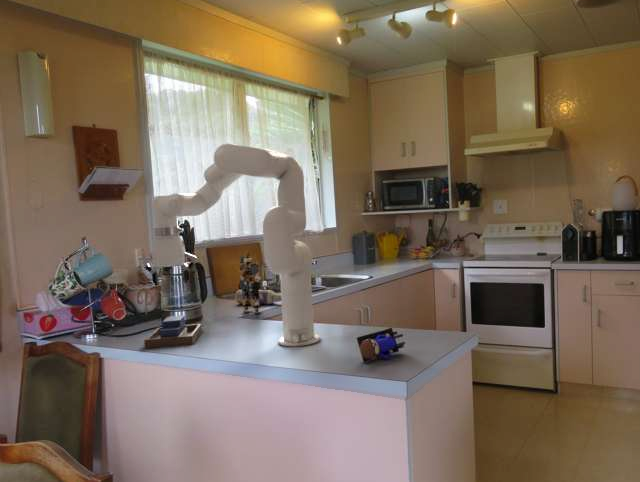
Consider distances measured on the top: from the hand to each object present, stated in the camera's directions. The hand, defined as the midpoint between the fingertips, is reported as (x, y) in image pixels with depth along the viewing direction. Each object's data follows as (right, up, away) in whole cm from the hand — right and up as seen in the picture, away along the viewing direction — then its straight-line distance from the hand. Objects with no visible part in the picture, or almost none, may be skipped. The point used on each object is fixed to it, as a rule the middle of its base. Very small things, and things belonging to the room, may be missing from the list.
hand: (172, 283), depth 180 cm
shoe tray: (+1, -19, +1) cm, 19 cm away
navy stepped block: (+1, -18, 0) cm, 18 cm away
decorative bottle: (+16, -14, +64) cm, 68 cm away
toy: (+17, -15, +42) cm, 48 cm away
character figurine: (+70, -18, -36) cm, 81 cm away
